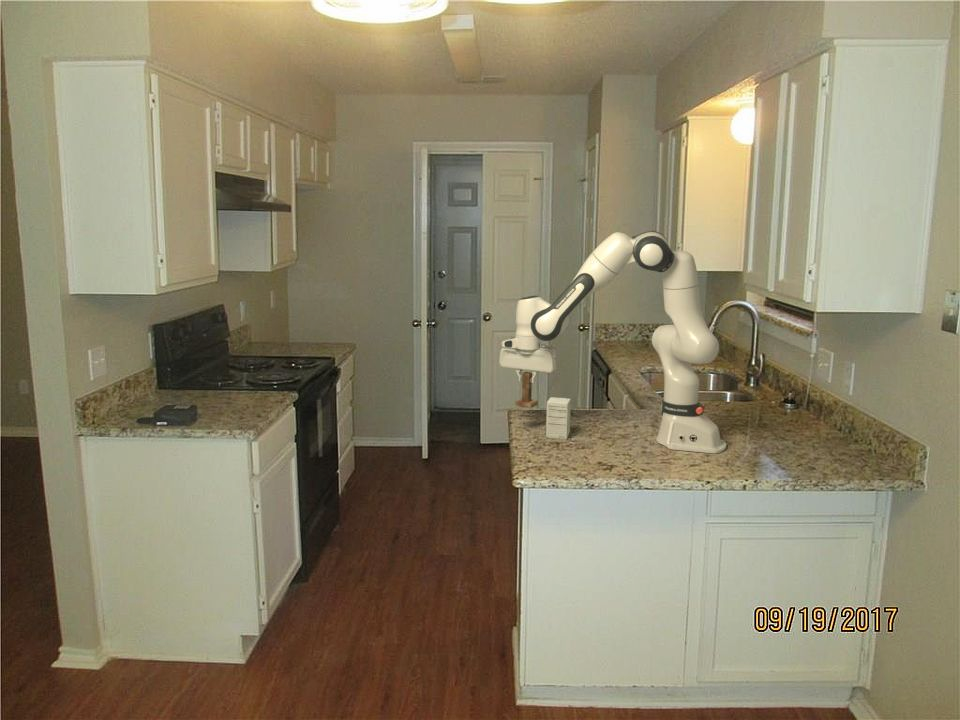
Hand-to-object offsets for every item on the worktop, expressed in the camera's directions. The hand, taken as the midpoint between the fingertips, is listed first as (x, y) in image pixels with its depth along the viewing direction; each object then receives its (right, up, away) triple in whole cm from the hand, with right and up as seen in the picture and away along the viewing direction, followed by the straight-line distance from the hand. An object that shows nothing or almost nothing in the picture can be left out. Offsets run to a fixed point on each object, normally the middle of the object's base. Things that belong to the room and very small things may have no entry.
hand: (527, 382), depth 259 cm
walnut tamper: (0, -8, +2) cm, 8 cm away
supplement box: (+11, -18, -2) cm, 21 cm away
